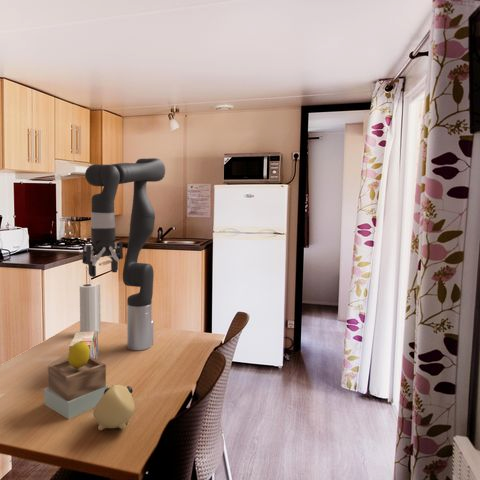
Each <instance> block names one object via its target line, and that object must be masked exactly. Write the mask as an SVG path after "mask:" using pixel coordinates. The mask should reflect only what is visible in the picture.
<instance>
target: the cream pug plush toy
mask: <svg viewBox="0 0 480 480" xmlns="http://www.w3.org/2000/svg"><path fill="white" fill-rule="evenodd" d="M133 396H134V393H133V388H132V386H129V385H128V386H127V385H122V384H114V385H111V386H110V387H108V388H107V389H106V390H105V391H104V395H103V396H102V398H101V399H100V400H99V402H98V403H97V405H96V406H95V407H93V408H94V409H93V412H92V413H93V417H94V419H95V421H96V423H97V424H98V425H97V429H98V430H99V431H103V430H104V429H115V428H116V429H117V428H118V429H121V430H124V429H125V428H126V427H127V425H126V424H128V423H129V421H130V420H131V418H132V417H133V415H134V413H135V408H136V405H135V400H134V399H133Z"/></svg>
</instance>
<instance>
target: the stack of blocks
mask: <svg viewBox="0 0 480 480" xmlns="http://www.w3.org/2000/svg"><path fill="white" fill-rule="evenodd" d="M98 334H99V333H98V331H89V332H80V331H79V332H75V333H74V336H73V339H72V340H71V342H70V343H69V347H68V348H69V349H68V352H69V351H70V349H71V347H72V346H73V345H74V344H75V343H78V342H80V341H83V342H84V343H86V344H87V345H88V346H89V349H90V357H92V358H94V359H96V360H98V357H99V338H98Z"/></svg>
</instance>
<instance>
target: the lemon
mask: <svg viewBox="0 0 480 480" xmlns="http://www.w3.org/2000/svg"><path fill="white" fill-rule="evenodd" d="M89 356H90V349H89V346H88V345H87V344H86V343H84V342H83V341H80V342H78V343H75V344H74V345H73V346H72V347H71V349H70V351H69V350H68V354H67V359H68V361H69V364H70V365H71V366H73V367H74V368H75V369H76V370H77V369H79V368H80V367H82V366H84V365H85V364H86V363H87V362H88V359H89Z"/></svg>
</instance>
